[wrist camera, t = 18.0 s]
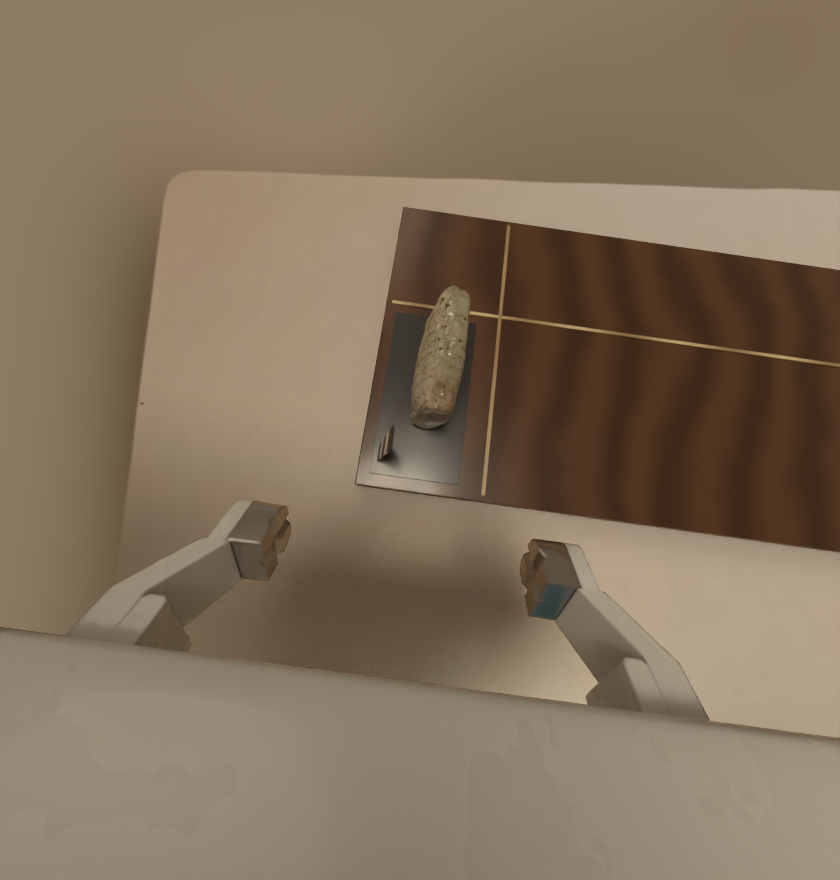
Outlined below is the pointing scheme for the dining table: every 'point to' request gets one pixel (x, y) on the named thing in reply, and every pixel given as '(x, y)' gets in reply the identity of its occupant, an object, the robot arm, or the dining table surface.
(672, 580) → the dining table surface
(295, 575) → the dining table surface
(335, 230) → the dining table surface
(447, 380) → the cuneiform tablet
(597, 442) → the board
